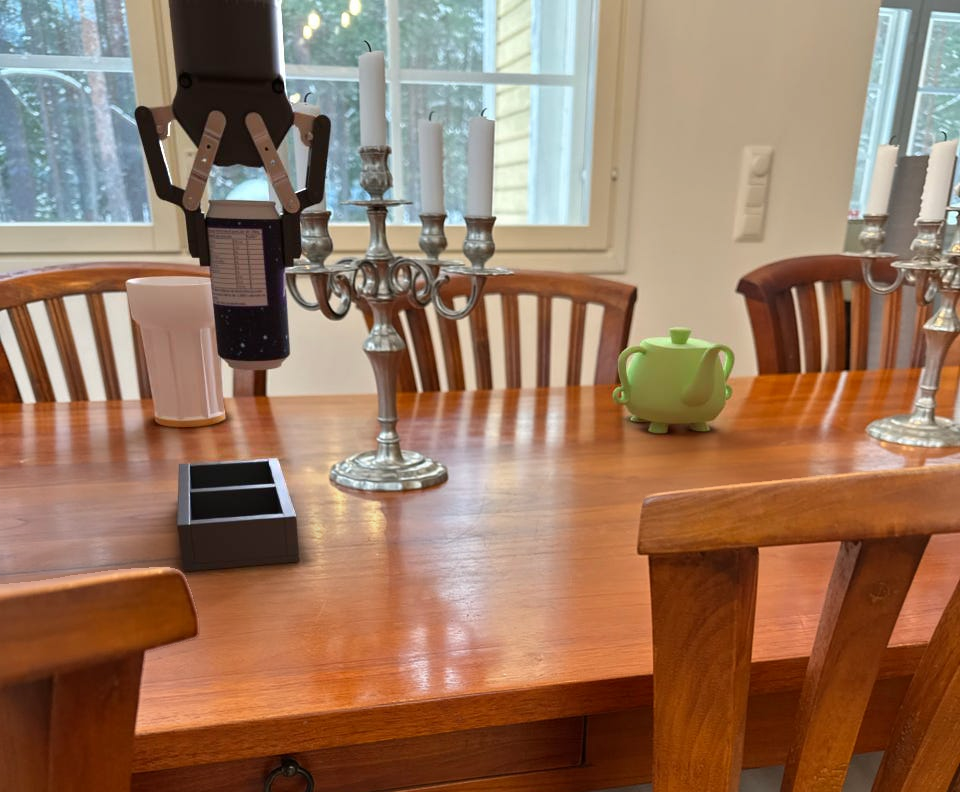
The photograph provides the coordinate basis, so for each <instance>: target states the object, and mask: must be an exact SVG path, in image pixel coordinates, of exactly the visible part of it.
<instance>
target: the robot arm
mask: <svg viewBox="0 0 960 792" xmlns="http://www.w3.org/2000/svg"><path fill="white" fill-rule="evenodd" d="M167 1H168V2H167V3H168V8H169V9H168V10H169V22H170V30H171V40H172V51H173V60H174V68H175V69H174V71H175V78H176V91H175V95H174V97H173V99H172V103H171V104H165V105H158V106H157V105H156V106H149V107H148V106H145V105H139V106H137V107H135V110H134V112H133V115H134V120H135V123H136V126H137V131H138V134H139V137H140V141H141V145H142V148H143V152H144V156H145V159H146V163H147V166H148V170H149V174H150V177H151V181H152V184H153V188H154V191H155V195H156V197H157V198H158V199H159V200H161V201H163V202H164V201H165V202H168V203H170V204H173V205H176V206H177V207H179V208H180V209H181V210H182V212H183V214H184V220H185V230H186V239H187V249H188V252H189V254H190V256H191V258H192V259H198V261H199V267H201V268H204V267H206V268H207V267H208V268H209V257H208V247H207V237H206V227H205V217H206V215H205V211H203V210H202V198H203V195H204V193H205V190H206V186H207V183H208V180H209V177H210V173H211V171H212V168H213V166H216V167H220V168H229V167H233V166H237V165H240V166H242V167H246V168H249V169H261V168H263V170H264V173H265V175H266V177H267V178H268V180H269V182H270V184H271V186H272V189H273V190H274V193H275V194H276V197H277V200H278V201H279V203H280V205H281V213H279V216H280V218H281V220H282V234H283V250H284V266H285V268H294V267H295V260H300V259H301V256H302V253H303V246H302V229H301V226H302V225H301V215H302V212H303V211H304V210H306V209H308V208H310V207H313V206H316V205H319V204H321V203H322V202H323V201H324V196H325V186H326V177H327V176H326V175H327V169H328V158H329V148H330V139H331V132H332V131H331V130H332V121H331V119H330V117H328V115H326V114H318V115H314V114H309V113H305V112H302V111H297V110H294V107H293V105H292V103H291V101H290V100H289V97H288V93H287V89H286V88H287V87H286V71H285V70H286V69H285V54H284V53H285V52H284V37H283V19H282V0H167ZM174 121H176V122H177V124H178V125H179V126H180V127H181V128H182V130H183V131H184V133H185V134H186V136H187V137H188V138H189V140H190V141H191V142H192V144H193V145H194V146H195V148H196V149H197V151H196V154H195V157H194V161H193V164H192V168H191V170H190V173H189V177H188V180H187V183H186V186H185V188H182V187H180V186H177V185H176V184H173V181H172V178H171V174H170V171H169V167H168V164H167V163H168V162H167V159H166V156H165V152H164V148H163V144H162V142H163V141H166V140H167V139H168V138H169V136H170V125H171V123H172V122H174ZM293 127H295V128H296V130H298V133H299V139H300V142H301V144H302V145H303V146H305V147H308V154H307V163H306V173H305V184H304V188H303V189H299V190H297V191H295V189H294V187H293V185H292V183H291V181H290V180H291V179H290V178H289V175H288V173H287V170H286V169H285V166H284V164H283V162H282V160H281V158H280V156H279V153H278V150H279V149H280V147H281V146H282V143H283V142H284V140H285V139H286V137H287V136H288V133H290V130H291V129H292V128H293ZM204 159H205V161H204Z"/></svg>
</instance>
